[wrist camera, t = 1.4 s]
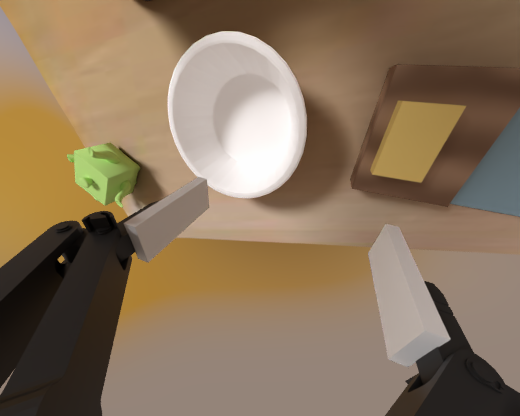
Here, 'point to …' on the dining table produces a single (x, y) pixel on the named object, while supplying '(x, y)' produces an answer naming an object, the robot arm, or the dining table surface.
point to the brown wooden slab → (461, 137)
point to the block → (414, 139)
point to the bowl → (237, 114)
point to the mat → (496, 175)
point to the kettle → (105, 172)
